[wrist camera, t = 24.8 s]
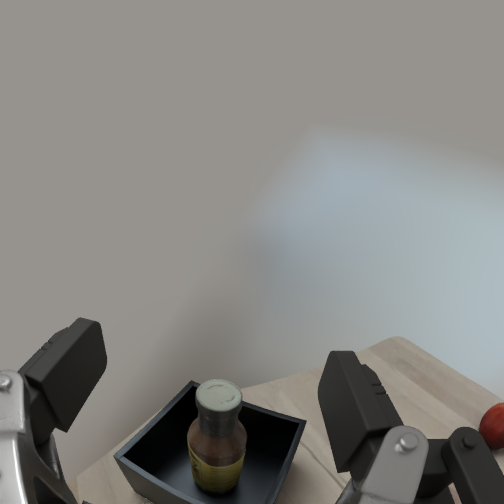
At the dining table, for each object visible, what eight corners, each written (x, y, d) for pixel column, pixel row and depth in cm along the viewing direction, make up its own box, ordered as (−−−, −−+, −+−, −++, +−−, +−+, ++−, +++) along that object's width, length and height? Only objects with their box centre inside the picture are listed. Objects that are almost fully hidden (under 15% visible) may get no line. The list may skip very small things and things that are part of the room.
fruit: (464, 433, 30) (490, 397, 28) (487, 419, 31) (511, 385, 29) (486, 465, 20) (518, 430, 17) (509, 446, 21) (537, 411, 18)
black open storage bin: (133, 490, 22) (112, 455, 19) (193, 423, 37) (191, 380, 34) (248, 544, 16) (260, 530, 14) (289, 459, 31) (306, 420, 29)
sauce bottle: (196, 459, 29) (191, 362, 24) (239, 465, 29) (256, 371, 24) (189, 493, 23) (175, 409, 18) (237, 500, 23) (255, 421, 18)
